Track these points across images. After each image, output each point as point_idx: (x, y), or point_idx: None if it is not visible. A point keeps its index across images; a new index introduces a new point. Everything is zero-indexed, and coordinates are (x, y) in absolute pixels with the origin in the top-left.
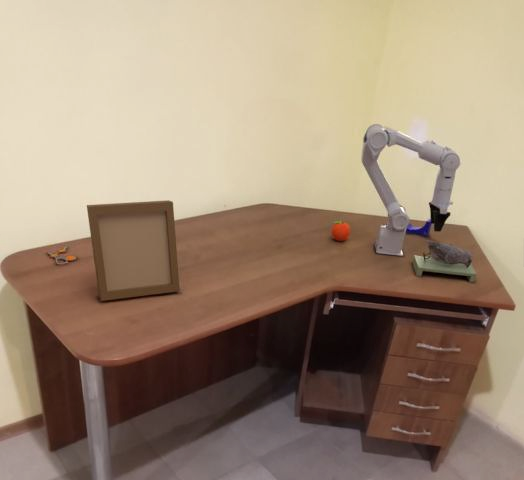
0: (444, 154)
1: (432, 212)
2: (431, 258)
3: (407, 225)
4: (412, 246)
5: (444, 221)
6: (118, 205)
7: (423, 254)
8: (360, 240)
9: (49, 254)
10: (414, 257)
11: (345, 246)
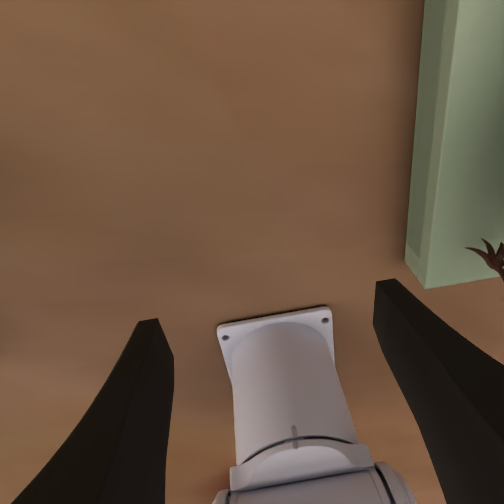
0: None
1: (158, 481)
2: (457, 199)
3: (406, 488)
4: (152, 273)
5: (500, 371)
6: None
7: (501, 269)
8: (214, 443)
9: None
10: (442, 283)
11: None
